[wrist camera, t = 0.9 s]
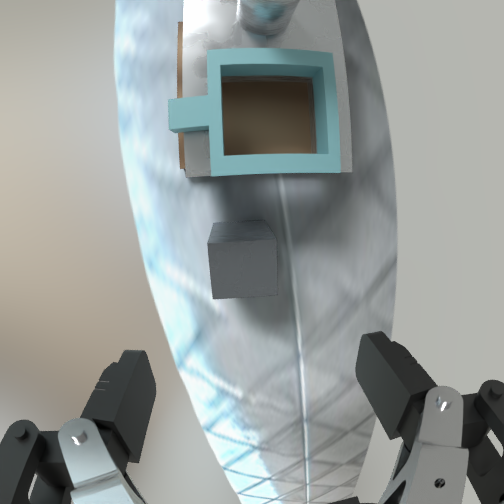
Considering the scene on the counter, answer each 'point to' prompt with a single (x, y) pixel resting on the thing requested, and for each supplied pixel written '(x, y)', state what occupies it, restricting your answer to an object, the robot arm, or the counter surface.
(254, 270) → the brushed steel block
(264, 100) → the foot plate
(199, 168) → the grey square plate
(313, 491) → the counter surface
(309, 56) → the bracket head
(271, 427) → the counter surface
